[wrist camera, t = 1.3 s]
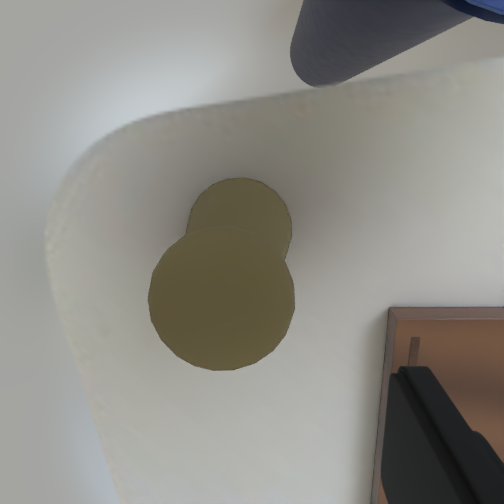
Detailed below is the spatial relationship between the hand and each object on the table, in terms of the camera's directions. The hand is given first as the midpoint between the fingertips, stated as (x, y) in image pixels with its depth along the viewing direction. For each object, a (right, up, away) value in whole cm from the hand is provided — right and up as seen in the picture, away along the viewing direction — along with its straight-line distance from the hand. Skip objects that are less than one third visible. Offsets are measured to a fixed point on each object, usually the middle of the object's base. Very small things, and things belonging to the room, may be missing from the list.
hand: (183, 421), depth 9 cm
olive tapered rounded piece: (+1, +5, +14) cm, 15 cm away
